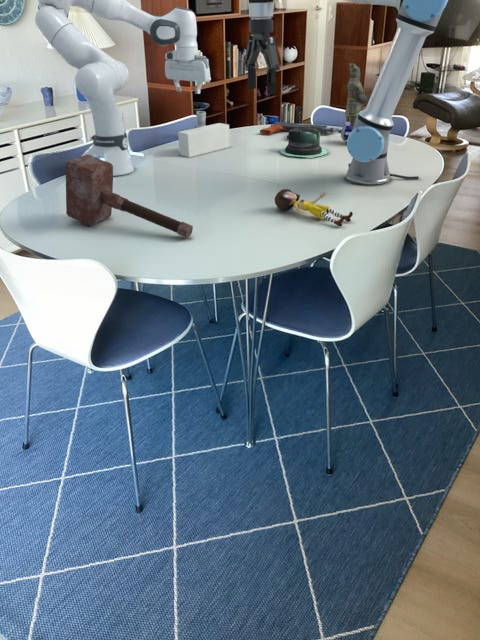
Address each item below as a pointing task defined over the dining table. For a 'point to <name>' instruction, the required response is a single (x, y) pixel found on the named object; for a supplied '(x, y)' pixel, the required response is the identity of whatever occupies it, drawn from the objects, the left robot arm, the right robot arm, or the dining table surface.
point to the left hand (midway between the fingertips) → (188, 92)
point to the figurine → (308, 206)
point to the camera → (201, 119)
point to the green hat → (304, 143)
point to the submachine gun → (291, 126)
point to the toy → (346, 130)
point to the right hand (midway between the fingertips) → (261, 91)
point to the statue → (354, 95)
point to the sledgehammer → (105, 196)
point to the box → (203, 139)
